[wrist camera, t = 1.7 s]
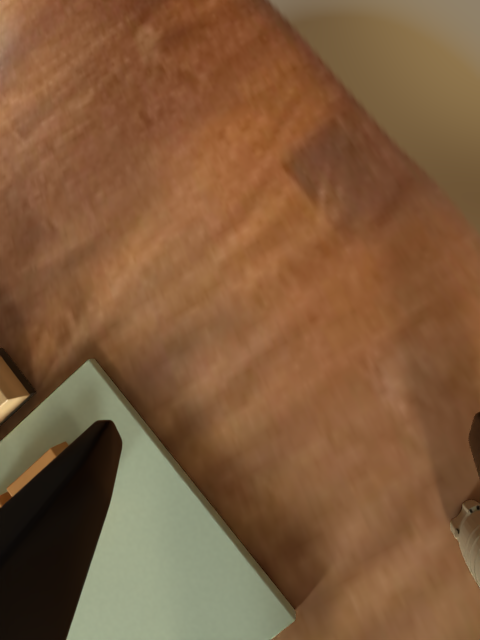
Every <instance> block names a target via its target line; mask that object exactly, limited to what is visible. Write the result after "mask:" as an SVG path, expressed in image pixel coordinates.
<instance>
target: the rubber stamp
mask: <svg viewBox="0 0 480 640" xmlns="http://www.w3.org/2000/svg"><path fill="white" fill-rule="evenodd" d="M35 393H36V391H35V390H34V388H33V387H32V386H31V384H30V383H29V382H28V380H27V379H26V378H25V376H24V375H23V374H22V372H21V371H20V370H19V368H18V367H17V366H16V365H15V363H14V362H13V361H12V359H11V358H10V357H9V355H8V354H7V353H6V351H5V350H4V349H3V348H0V426H1V425H2V424H3V423H4V422H5V421H6V420H8V419H9V418H10V417H11V416H12V415H13V414H14V413H15V412H16V411H17V410H18V409H19V408H20V407H21V406H22V405H24V404H25V403H26V402H27V401H28V400H29V399H30V398H31V397H32V396H33V395H34V394H35Z"/></svg>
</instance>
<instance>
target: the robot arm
mask: <svg viewBox="0 0 480 640" xmlns="http://www.w3.org/2000/svg"><path fill="white" fill-rule="evenodd" d="M469 444H470V448H471V451H472V455H473V458H474V462H475V465H476V468H477V472H478V475H479V479H480V412H478V413H476V414H475V416H474V419H473V423H472V426H471V429H470V433H469ZM122 445H123V444H122V438H121V436H120V434H119V432H118V430H117V428H116V426H115V423H114V422H113V421H112V420H97V421H95V422H94V423H93V424H92V425H91V426H90V427H89V428H87V429H86V430H85V431H84V432H83V433H82V434H81V435H80V436H79V437H78V438H76V439H75V440H74V441H73V442H72V443H71V444H70V445H69V446H68V447H67V448H65V449H64V450H63V451H62V452H61V453H60V454H59V455H58V456H57V457H56V458H54V459H53V460H52V461H51V462H50V463H49V464H48V465H47V466H46V467H45V468H43V469H42V470H41V471H40V472H39V473H38V474H37V475H36V476H35V477H34V478H32V479H31V480H30V481H29V482H28V483H27V484H26V485H25V486H24V487H23V488H21V489H20V490H19V491H18V492H17V493H16V494H15V495H14V496H13V497H12V498H10V499H9V500H8V501H7V502H6V503H5V504H4V505H3V506H2V507H1V508H0V640H66V639H67V636H68V633H69V630H70V627H71V624H72V621H73V618H74V615H75V612H76V608H77V605H78V602H79V599H80V596H81V593H82V590H83V587H84V584H85V581H86V578H87V574H88V571H89V568H90V565H91V562H92V559H93V556H94V553H95V550H96V547H97V543H98V540H99V537H100V534H101V531H102V528H103V525H104V522H105V519H106V516H107V513H108V509H109V506H110V502H111V498H112V494H113V489H114V485H115V480H116V475H117V470H118V466H119V461H120V456H121V452H122Z"/></svg>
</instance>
